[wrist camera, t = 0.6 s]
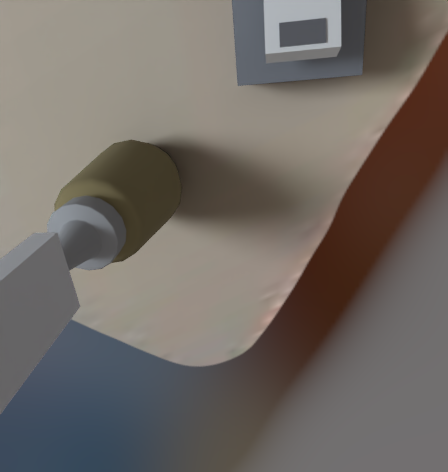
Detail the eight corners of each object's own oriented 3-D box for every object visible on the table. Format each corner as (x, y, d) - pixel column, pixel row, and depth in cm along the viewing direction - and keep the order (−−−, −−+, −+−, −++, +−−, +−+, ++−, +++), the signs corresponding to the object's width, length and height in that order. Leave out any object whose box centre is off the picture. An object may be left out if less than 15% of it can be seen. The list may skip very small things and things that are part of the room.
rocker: (262, -33, 24) (261, -52, 23) (335, -43, 24) (340, -62, 22) (266, 63, 25) (265, 53, 23) (336, 56, 25) (341, 45, 23)
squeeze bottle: (187, 132, 34) (113, 198, 18) (192, 214, 38) (133, 332, 21) (102, 131, 35) (-42, 194, 19) (114, 212, 38) (1, 324, 22)
